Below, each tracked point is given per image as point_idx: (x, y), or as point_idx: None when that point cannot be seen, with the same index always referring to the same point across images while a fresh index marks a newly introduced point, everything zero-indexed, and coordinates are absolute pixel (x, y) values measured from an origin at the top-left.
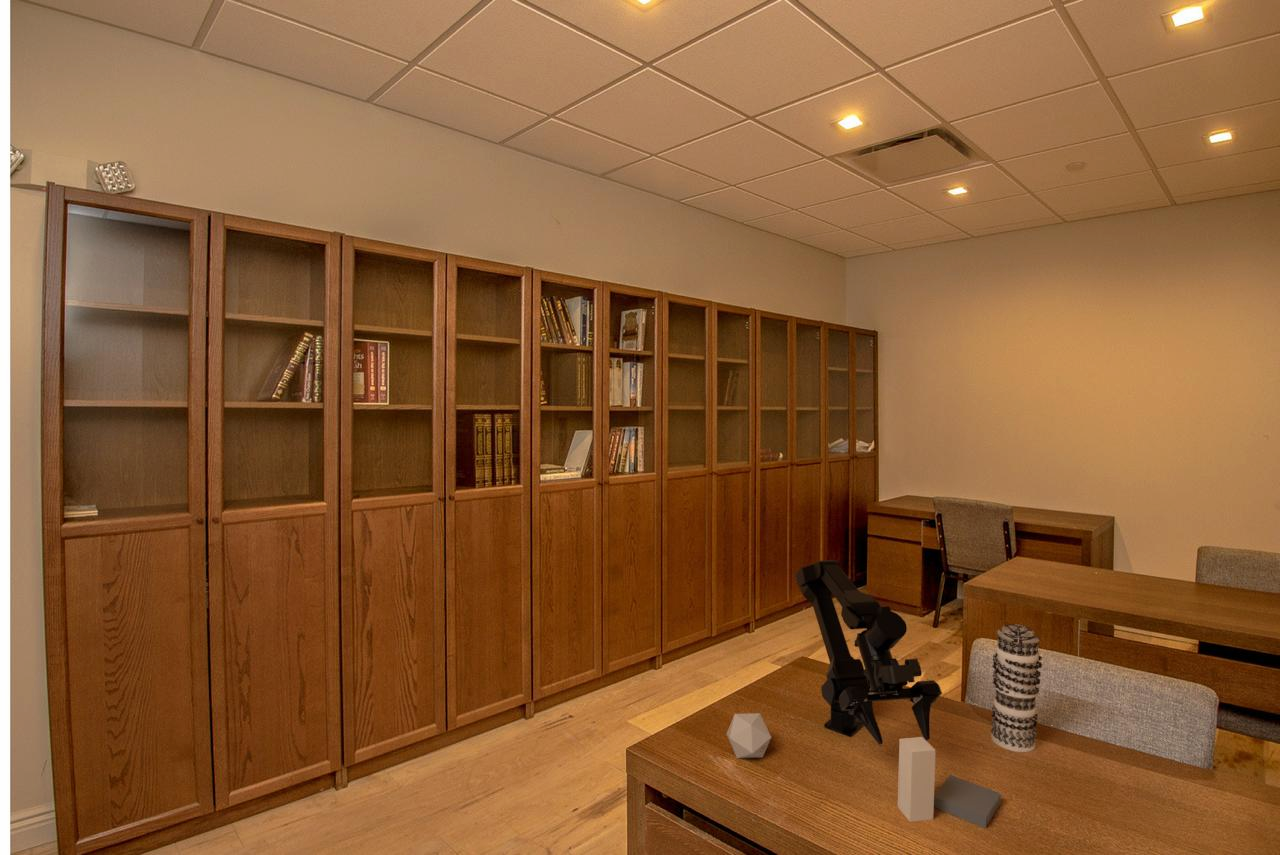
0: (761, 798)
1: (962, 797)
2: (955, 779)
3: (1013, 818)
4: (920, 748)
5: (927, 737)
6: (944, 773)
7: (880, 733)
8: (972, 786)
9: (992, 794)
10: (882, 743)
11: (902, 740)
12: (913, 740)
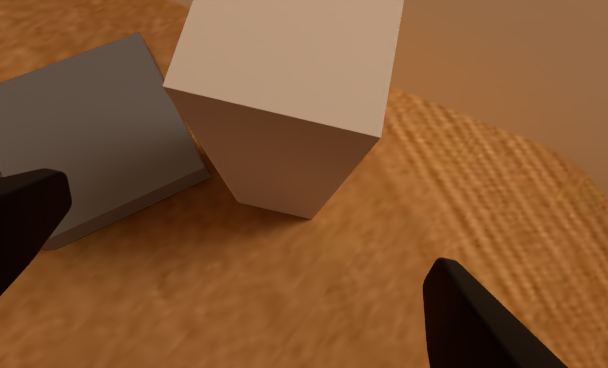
0: None
1: (116, 127)
2: None
3: (37, 52)
4: None
5: (56, 173)
6: (8, 314)
7: (471, 301)
8: (23, 158)
9: (4, 100)
10: (436, 260)
11: (371, 109)
12: (283, 71)
